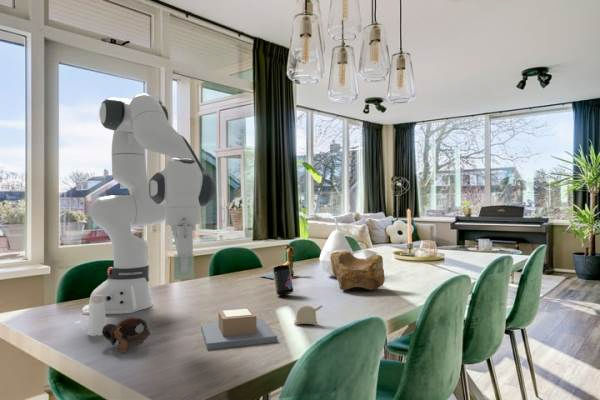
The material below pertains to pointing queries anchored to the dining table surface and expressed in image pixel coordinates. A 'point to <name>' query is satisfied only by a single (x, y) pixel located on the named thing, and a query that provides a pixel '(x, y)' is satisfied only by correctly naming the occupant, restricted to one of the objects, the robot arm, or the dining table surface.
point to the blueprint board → (236, 339)
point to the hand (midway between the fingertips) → (183, 269)
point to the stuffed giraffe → (289, 262)
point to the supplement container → (283, 280)
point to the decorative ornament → (306, 315)
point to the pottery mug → (126, 333)
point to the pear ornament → (334, 248)
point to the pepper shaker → (96, 316)
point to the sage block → (177, 268)
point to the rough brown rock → (357, 271)
